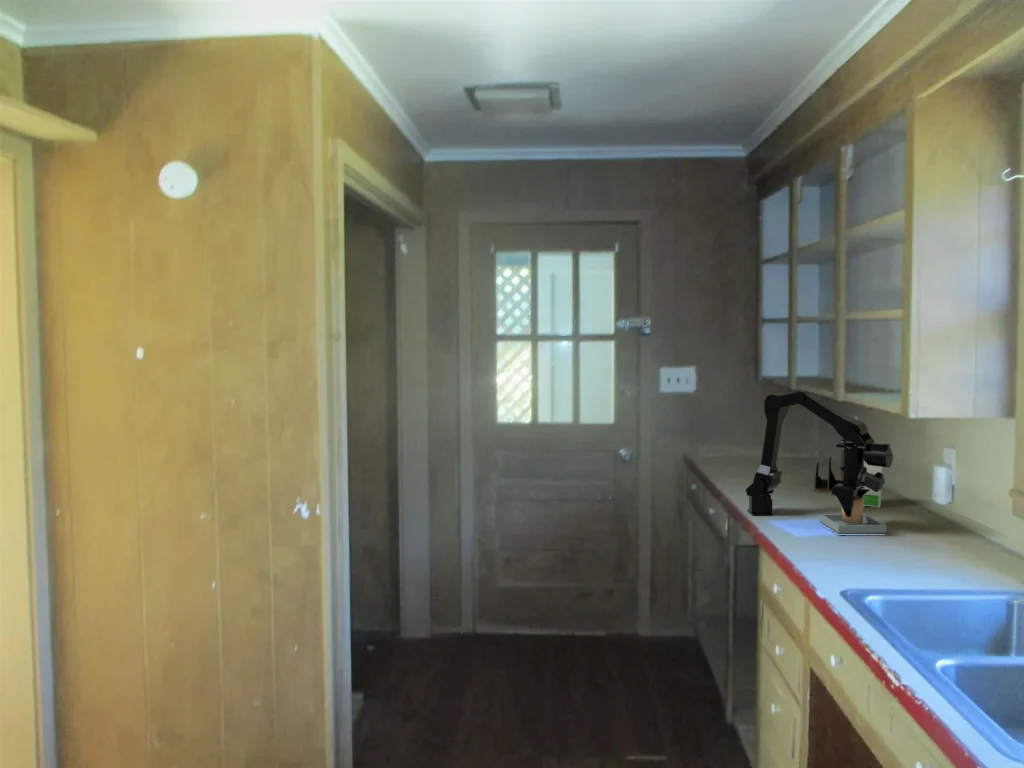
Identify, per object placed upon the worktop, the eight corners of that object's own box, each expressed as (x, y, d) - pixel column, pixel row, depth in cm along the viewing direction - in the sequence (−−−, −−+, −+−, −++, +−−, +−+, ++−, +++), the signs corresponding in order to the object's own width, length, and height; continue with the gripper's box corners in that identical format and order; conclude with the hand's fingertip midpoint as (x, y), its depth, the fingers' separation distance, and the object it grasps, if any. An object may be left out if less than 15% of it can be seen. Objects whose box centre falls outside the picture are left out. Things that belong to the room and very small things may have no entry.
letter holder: (843, 483, 302) (844, 447, 301) (843, 494, 284) (844, 455, 283) (816, 481, 306) (816, 446, 305) (813, 492, 288) (814, 454, 287)
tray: (838, 536, 228) (838, 526, 228) (819, 523, 242) (819, 514, 242) (886, 535, 228) (886, 525, 228) (864, 523, 242) (864, 513, 242)
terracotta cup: (846, 524, 232) (846, 500, 231) (837, 519, 238) (838, 495, 237) (866, 523, 232) (867, 500, 231) (857, 518, 238) (858, 495, 237)
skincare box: (853, 506, 265) (854, 460, 264) (855, 501, 271) (856, 457, 270) (881, 508, 261) (882, 462, 260) (882, 504, 267) (883, 459, 266)
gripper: (871, 471, 221) (870, 525, 222) (891, 462, 235) (890, 513, 236) (831, 466, 229) (830, 519, 230) (853, 458, 242) (852, 507, 244)
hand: (852, 514), depth 235 cm, fingers closed on terracotta cup, 6 cm apart
